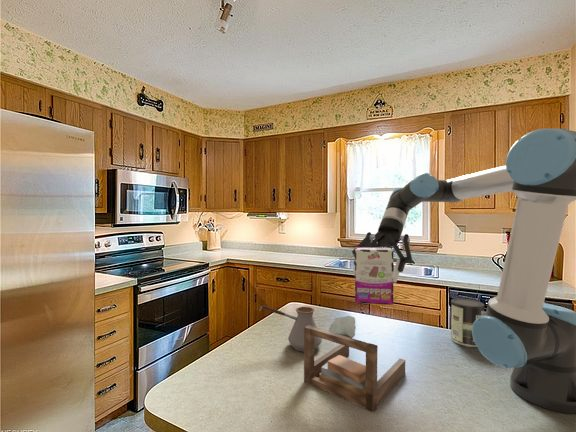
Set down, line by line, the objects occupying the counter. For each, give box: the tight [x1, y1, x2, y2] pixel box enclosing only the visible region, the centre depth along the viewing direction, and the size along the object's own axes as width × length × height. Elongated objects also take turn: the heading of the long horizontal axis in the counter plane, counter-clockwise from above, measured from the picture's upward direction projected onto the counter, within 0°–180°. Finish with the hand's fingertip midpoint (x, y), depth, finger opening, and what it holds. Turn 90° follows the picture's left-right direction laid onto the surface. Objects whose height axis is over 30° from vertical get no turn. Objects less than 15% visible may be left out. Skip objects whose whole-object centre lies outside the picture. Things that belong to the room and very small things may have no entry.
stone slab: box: [328, 315, 356, 339], centre depth 126 cm, size 22×3×10 cm
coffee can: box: [450, 298, 485, 348], centre depth 112 cm, size 10×10×14 cm
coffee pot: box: [259, 304, 323, 353], centre depth 106 cm, size 21×12×15 cm, turn 99°
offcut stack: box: [318, 355, 366, 397], centre depth 83 cm, size 14×7×6 cm, turn 50°
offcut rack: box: [303, 325, 406, 413], centre depth 87 cm, size 20×22×15 cm
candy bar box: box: [354, 246, 395, 306], centre depth 94 cm, size 11×5×16 cm, turn 78°
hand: (373, 276), depth 94 cm, fingers closed on candy bar box, 12 cm apart
